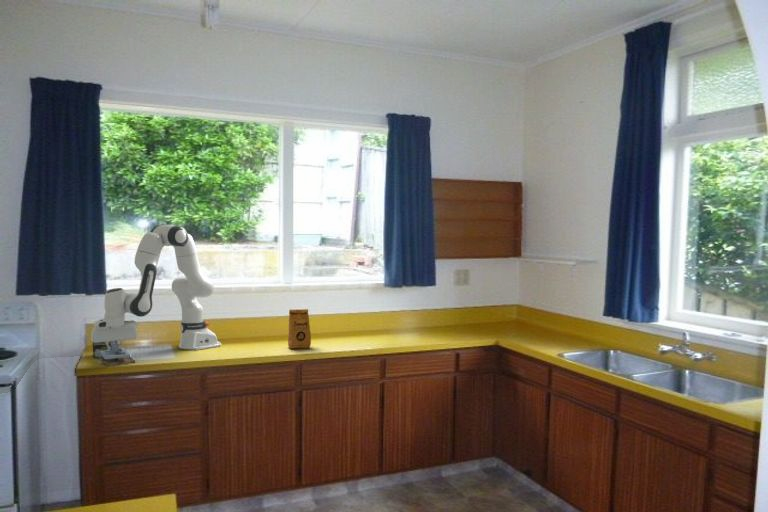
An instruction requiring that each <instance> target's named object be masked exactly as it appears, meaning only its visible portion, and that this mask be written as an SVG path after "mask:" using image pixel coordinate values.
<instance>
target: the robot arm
mask: <svg viewBox="0 0 768 512" xmlns="http://www.w3.org/2000/svg"><path fill="white" fill-rule="evenodd" d="M170 246H171V247H173V249H174V255H175V259H176V264H177V268H178V270H179V272H181V273H182V274H184V276H179V277H176V278H174V279H173V281H172V282H171V291H172V292H173V294H175V295H176V298H177V299H178V301H179V304H180V306H181V323H180V332H181V333H180V334H181V337H180V342H179V345H178V348H179V349H180V350H181V349H182V350H193V351H200V350H205V349H212V348H218V347H221V346H222V342H220V341H218V337H217V335H216V333H215V332H213V331H212V330H211V329H209V328H207V327H209V326H210V323H209V322H208V321H204V308H203V306H202V304H200V302H199V301H198V299H197V298H208V297H210V296H212V294H213V292H214V290H215V286H214V283H213V281H212V280H210V278H209V277H207V276H206V274H205V273H204V271H203V269H202V267H201V265H200V261H199V257H198V251H197V248H196V247H197V246H196V244H195V240H194V239H193V236H192V235H191V234H190V233H188V232H187V230H186V229H185V228H184V227H182V226H179V225H174V224H157V225H155V226H153V227H152V228H151V230H150V231H149V232H146V233H144V235H143V236H142V238H141V240H140V242H139V244H138V245H137V250H136V252H135V255H134V265H135V267H136V269H138V271H139V272H140V275H141V278H140V284H139V290H138V293H132V292H129V291H127V290H125V289H123V288H121V287H116V288H110V289H108V290H107V291H106V292H105V294H104V310H105V312H104V317H103V318H100V319H98V320H95V321H94V322H93V328H92V329H91V334H90V335H91V336H90V341H91V342H92V344H93V343H97V342H105V344H106V345H107V347H108V351H109V350H112V349H111V348H112V347H111V346H109V345H108V344H109V341H118V342H119V349H122V348H123V347H122V346H123V345H124V343H125V340H127V341H129V340H135V339H137V338H138V330H137V328H138V322H137V321H136V320H134V319H133V320H125V317H126V316H125V314H126V313H128V314H132V315H134V316H136V317H145V316H147V315H149V313H151V311H152V309H153V291H154V287H155V282H156V278H157V271H158V270H157V269H158V268H157V267H158V263H159V259H160V256H161V252H162V249H164V247H170Z"/></svg>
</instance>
